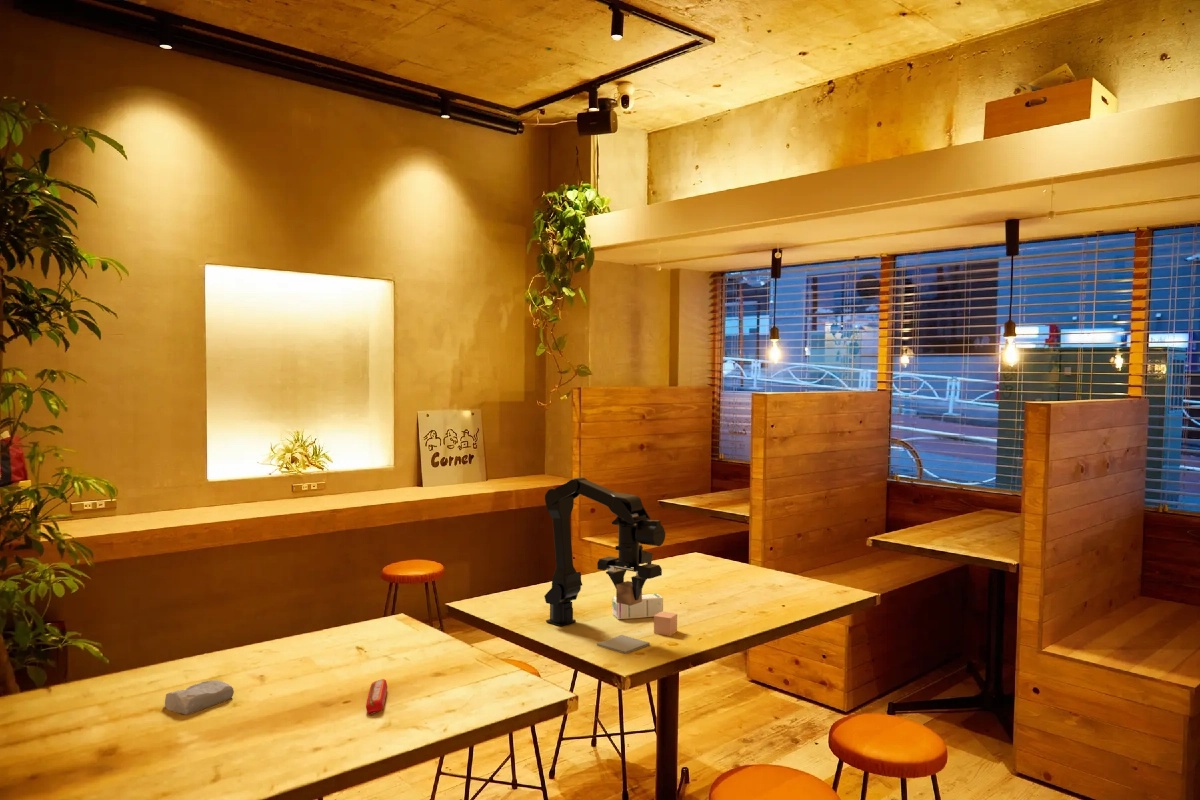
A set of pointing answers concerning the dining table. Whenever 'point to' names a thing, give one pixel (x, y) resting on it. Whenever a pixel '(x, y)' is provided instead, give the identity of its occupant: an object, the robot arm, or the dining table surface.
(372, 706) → the candy bar
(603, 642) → the coaster
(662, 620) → the terracotta cube
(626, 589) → the walnut cube
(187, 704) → the stone block
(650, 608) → the syrup box
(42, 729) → the dining table surface
